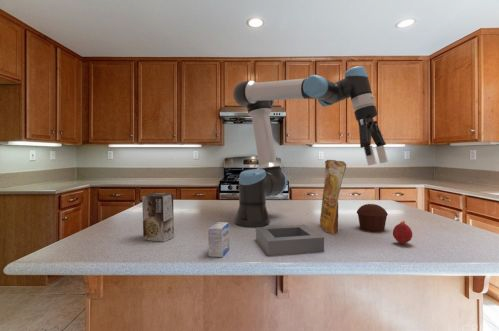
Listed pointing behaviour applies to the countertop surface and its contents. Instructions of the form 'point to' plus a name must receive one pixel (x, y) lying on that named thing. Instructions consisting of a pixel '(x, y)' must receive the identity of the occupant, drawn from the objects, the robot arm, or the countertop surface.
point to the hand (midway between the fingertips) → (378, 163)
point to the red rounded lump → (402, 233)
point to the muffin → (372, 217)
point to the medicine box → (218, 239)
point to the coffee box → (158, 217)
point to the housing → (289, 240)
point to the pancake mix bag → (331, 195)
